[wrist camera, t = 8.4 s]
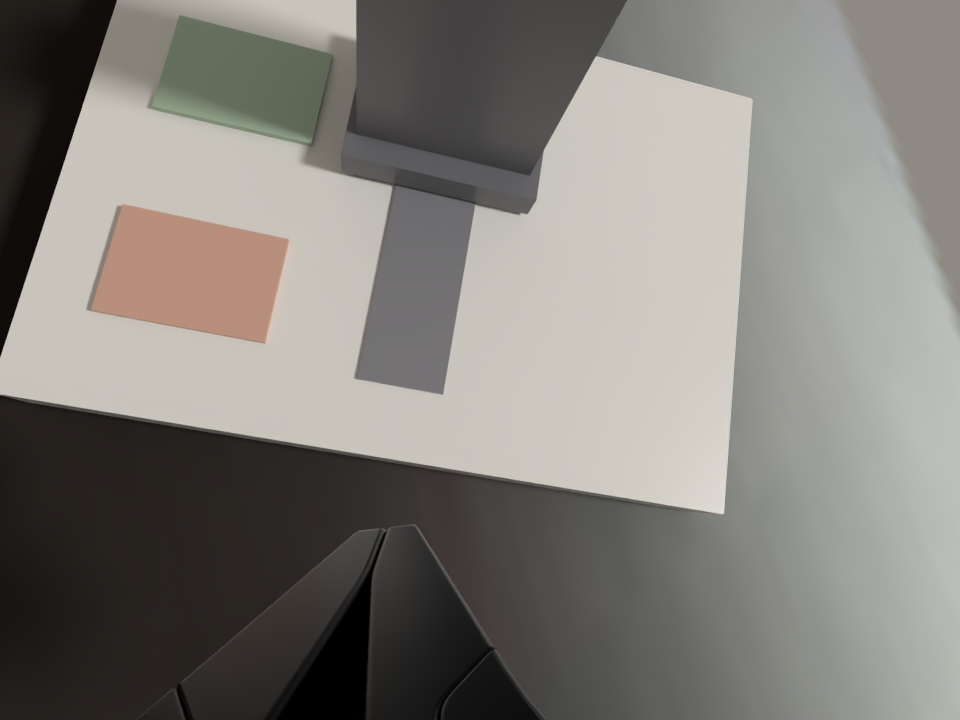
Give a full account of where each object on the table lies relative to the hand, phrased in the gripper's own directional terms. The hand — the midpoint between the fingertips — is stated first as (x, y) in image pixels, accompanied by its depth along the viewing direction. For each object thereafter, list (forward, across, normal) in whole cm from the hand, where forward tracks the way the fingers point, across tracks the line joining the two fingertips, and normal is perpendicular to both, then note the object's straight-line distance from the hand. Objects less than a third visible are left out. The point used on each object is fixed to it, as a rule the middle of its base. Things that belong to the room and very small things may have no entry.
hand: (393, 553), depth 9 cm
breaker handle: (+14, +1, +4) cm, 14 cm away
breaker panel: (+14, 0, +1) cm, 14 cm away
